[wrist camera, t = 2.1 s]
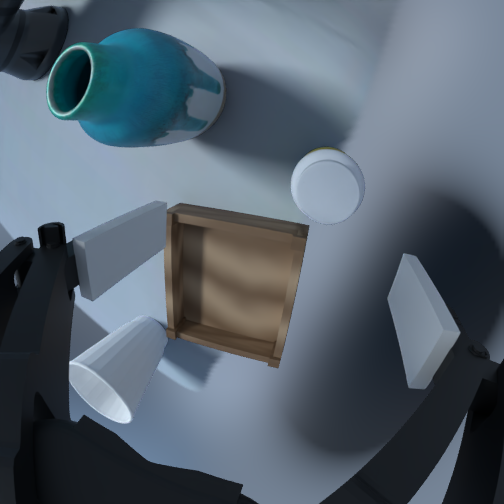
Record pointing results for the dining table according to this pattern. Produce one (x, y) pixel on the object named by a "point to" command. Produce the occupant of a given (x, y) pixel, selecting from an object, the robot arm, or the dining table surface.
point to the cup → (119, 368)
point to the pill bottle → (327, 185)
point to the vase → (137, 89)
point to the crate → (231, 279)
